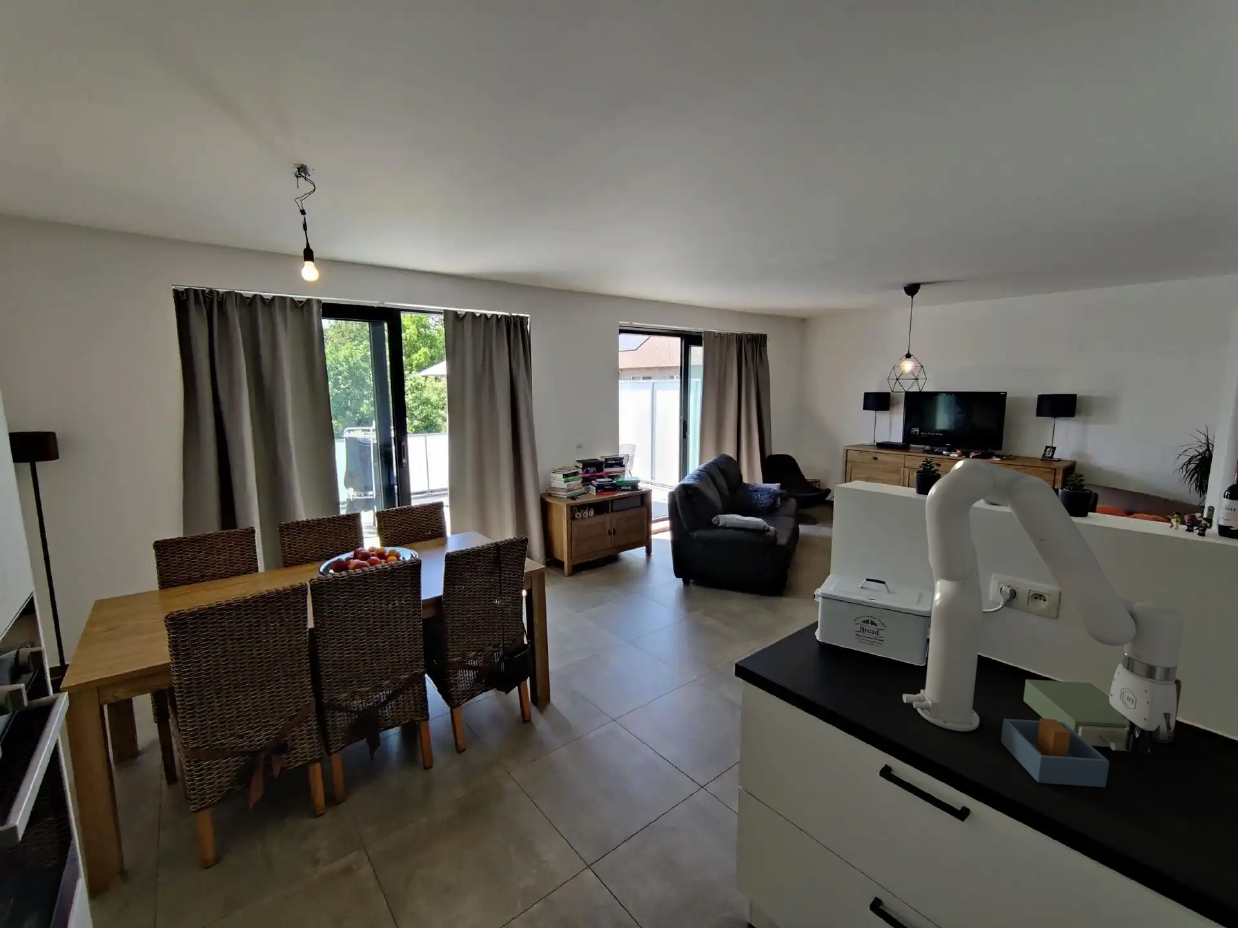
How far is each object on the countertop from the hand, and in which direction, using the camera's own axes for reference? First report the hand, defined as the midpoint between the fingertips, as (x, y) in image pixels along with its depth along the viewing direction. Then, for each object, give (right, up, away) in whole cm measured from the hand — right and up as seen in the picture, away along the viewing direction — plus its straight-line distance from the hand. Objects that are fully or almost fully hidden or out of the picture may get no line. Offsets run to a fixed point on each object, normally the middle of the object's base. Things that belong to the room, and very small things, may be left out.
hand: (1136, 751), depth 109 cm
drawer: (+1, -1, +11) cm, 11 cm away
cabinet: (+1, -2, +15) cm, 15 cm away
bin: (-16, -3, +2) cm, 16 cm away
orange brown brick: (-16, -3, +2) cm, 16 cm away
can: (+14, -2, +11) cm, 18 cm away
